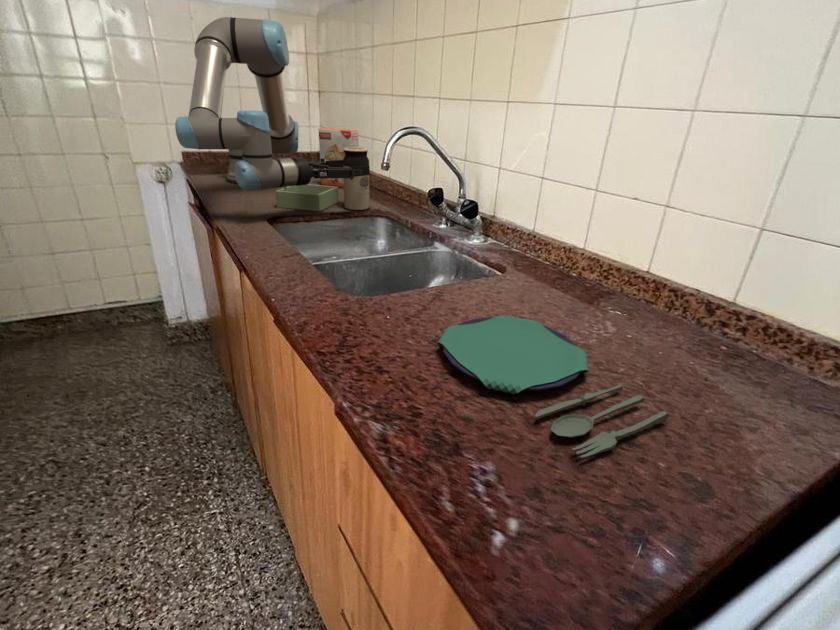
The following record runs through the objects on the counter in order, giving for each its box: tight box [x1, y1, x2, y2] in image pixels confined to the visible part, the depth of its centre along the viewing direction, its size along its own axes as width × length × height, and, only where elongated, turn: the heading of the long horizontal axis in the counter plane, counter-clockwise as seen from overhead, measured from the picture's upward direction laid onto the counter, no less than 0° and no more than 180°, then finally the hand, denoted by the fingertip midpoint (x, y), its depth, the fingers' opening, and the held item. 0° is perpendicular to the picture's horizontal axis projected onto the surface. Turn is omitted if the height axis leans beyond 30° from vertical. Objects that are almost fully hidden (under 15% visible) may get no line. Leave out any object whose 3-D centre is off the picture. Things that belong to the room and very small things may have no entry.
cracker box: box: [318, 127, 360, 189], centre depth 171 cm, size 14×6×21 cm, turn 67°
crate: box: [274, 183, 340, 212], centre depth 145 cm, size 15×15×5 cm
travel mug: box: [343, 147, 370, 211], centre depth 141 cm, size 8×8×18 cm
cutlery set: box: [437, 315, 670, 460], centre depth 60 cm, size 20×30×2 cm, turn 28°
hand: (356, 167), depth 139 cm, fingers open, 13 cm apart
